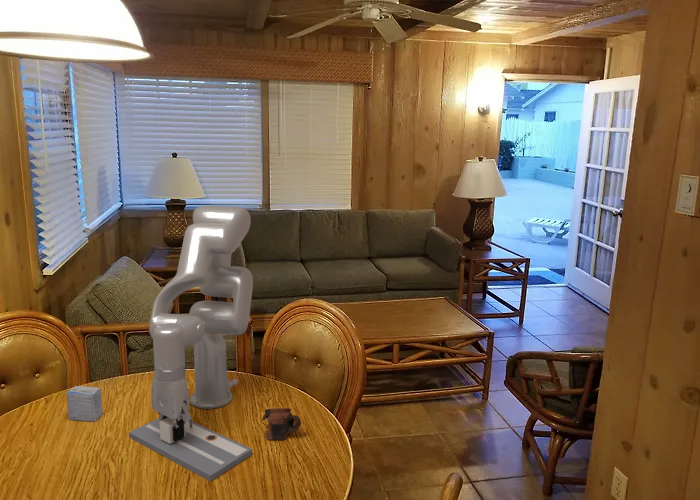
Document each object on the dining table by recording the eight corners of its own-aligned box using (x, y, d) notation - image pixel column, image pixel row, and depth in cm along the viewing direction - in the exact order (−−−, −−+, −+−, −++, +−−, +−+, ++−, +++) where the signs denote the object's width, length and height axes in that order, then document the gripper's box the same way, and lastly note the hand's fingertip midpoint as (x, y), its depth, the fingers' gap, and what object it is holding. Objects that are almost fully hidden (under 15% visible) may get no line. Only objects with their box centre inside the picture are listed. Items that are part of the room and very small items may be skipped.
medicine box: (103, 414, 161) (101, 387, 159) (94, 422, 157) (92, 394, 155) (77, 412, 162) (75, 385, 160) (68, 420, 157) (65, 392, 156)
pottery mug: (255, 440, 151) (255, 409, 153) (272, 439, 159) (272, 410, 162) (294, 439, 146) (293, 406, 149) (310, 438, 155) (309, 407, 157)
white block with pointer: (187, 424, 153) (186, 408, 152) (197, 429, 151) (196, 412, 150) (160, 438, 146) (159, 421, 145) (170, 443, 143) (169, 426, 142)
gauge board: (172, 416, 161) (171, 398, 160) (252, 454, 143) (252, 434, 142) (129, 437, 150) (127, 417, 148) (210, 481, 132) (209, 459, 131)
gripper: (137, 368, 144) (141, 432, 148) (179, 385, 135) (182, 453, 139) (161, 358, 150) (164, 420, 154) (203, 375, 141) (205, 440, 145)
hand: (172, 435), depth 147 cm, fingers closed on white block with pointer, 4 cm apart
